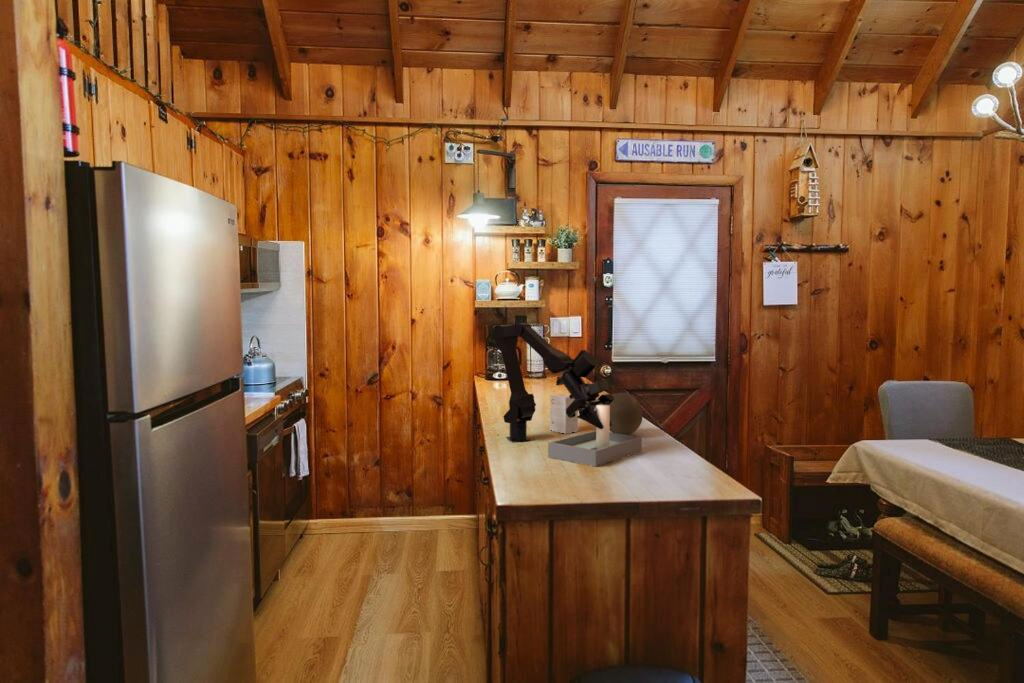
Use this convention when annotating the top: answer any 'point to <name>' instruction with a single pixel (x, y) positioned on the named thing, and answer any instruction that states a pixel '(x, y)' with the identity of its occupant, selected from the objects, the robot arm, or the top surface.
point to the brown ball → (625, 414)
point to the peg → (603, 434)
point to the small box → (562, 414)
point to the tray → (594, 448)
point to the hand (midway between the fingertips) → (606, 427)
